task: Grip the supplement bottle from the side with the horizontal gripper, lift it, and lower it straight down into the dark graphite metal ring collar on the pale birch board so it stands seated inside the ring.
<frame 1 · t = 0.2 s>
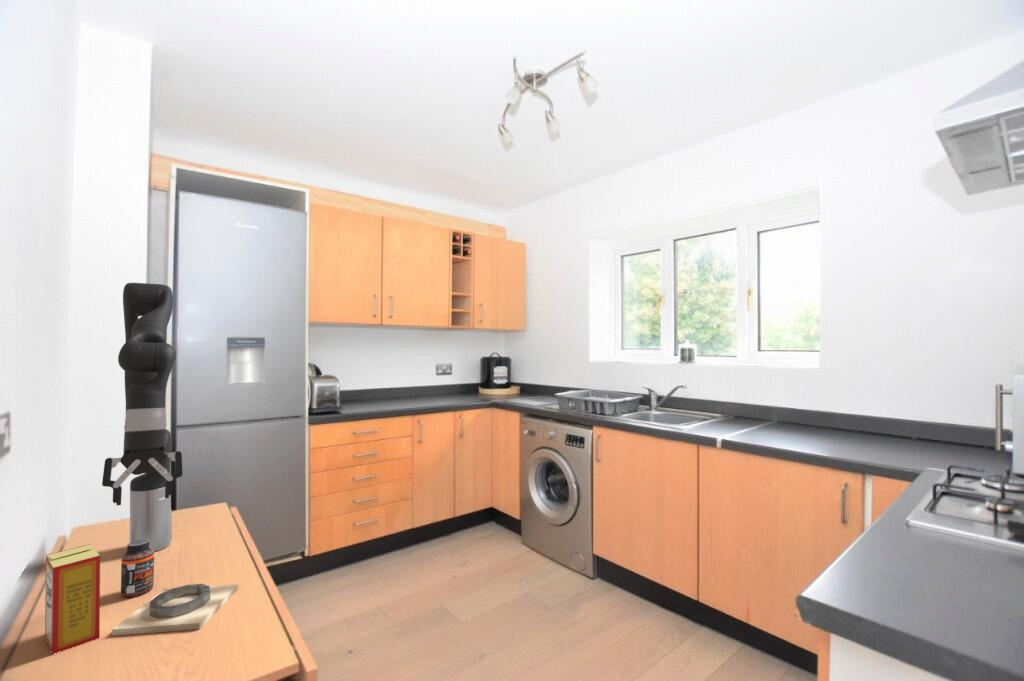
hand: (143, 501, 106), 22 cm above the table, tool pointing down, fingers open, 8 cm apart
supplement bottle: (137, 592, 108), on the table
baking soda box: (72, 638, 91), on the table
birch board: (180, 610, 100), on the table
ring collar: (180, 600, 100), on the birch board, point 2 cm above the table
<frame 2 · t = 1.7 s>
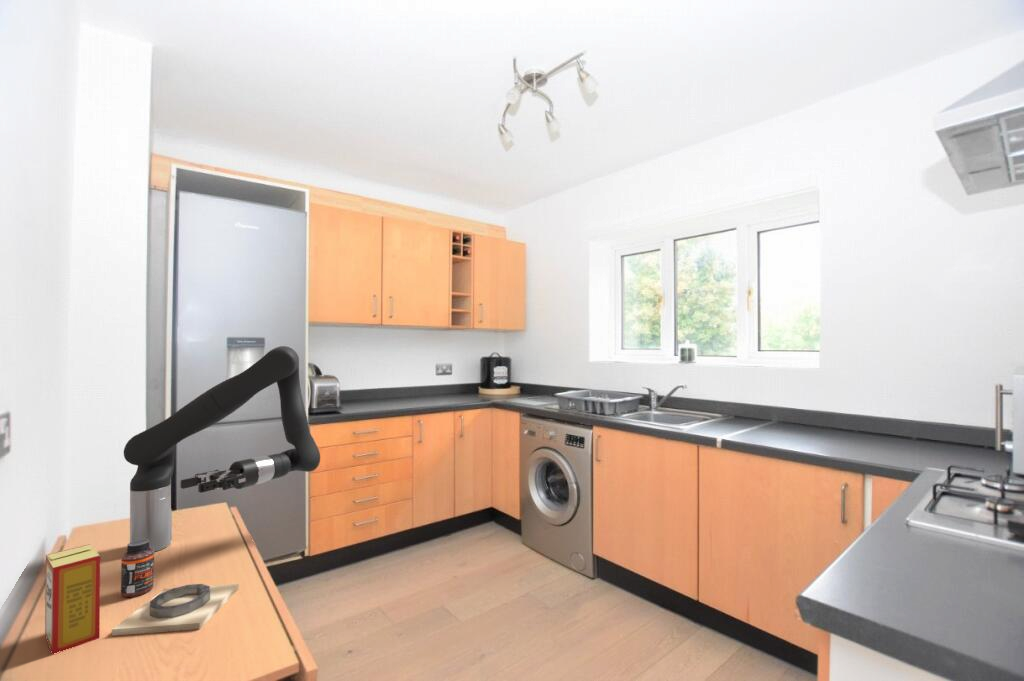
hand: (189, 486, 118), 21 cm above the table, tool horizontal, fingers open, 8 cm apart
nothing on the table moved.
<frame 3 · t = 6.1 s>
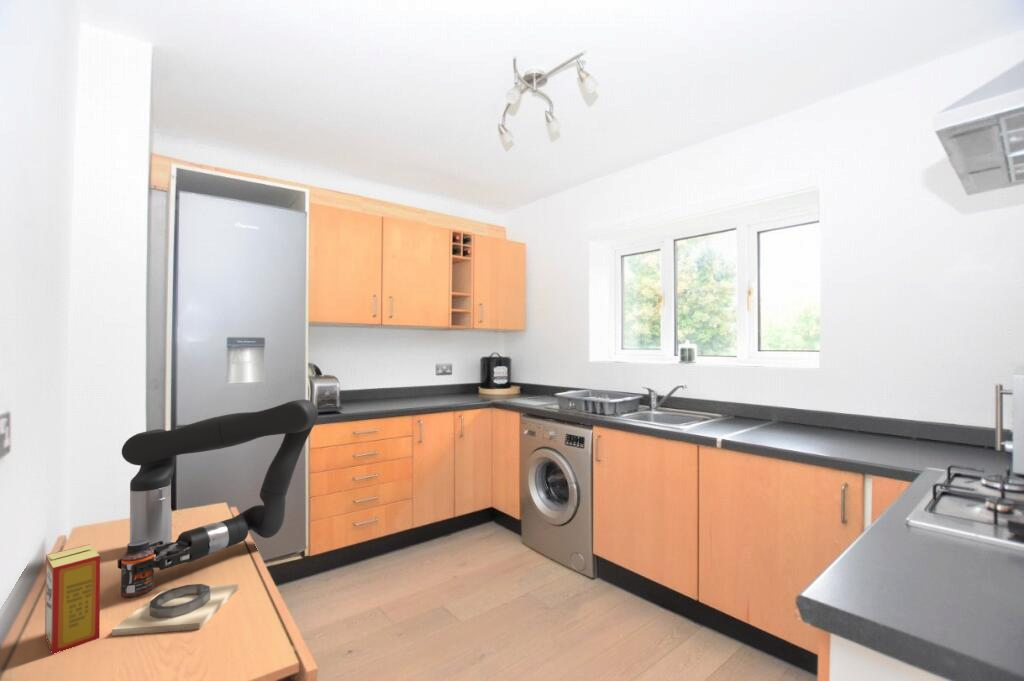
hand: (125, 567, 106), 7 cm above the table, tool horizontal, fingers closed on supplement bottle, 6 cm apart
supplement bottle: (137, 592, 108), on the table, touching gripper
everything else where it was.
when the fingers open (8 cm above the table, at t = 12.0 s): supplement bottle stays where it is, resting on birch board.
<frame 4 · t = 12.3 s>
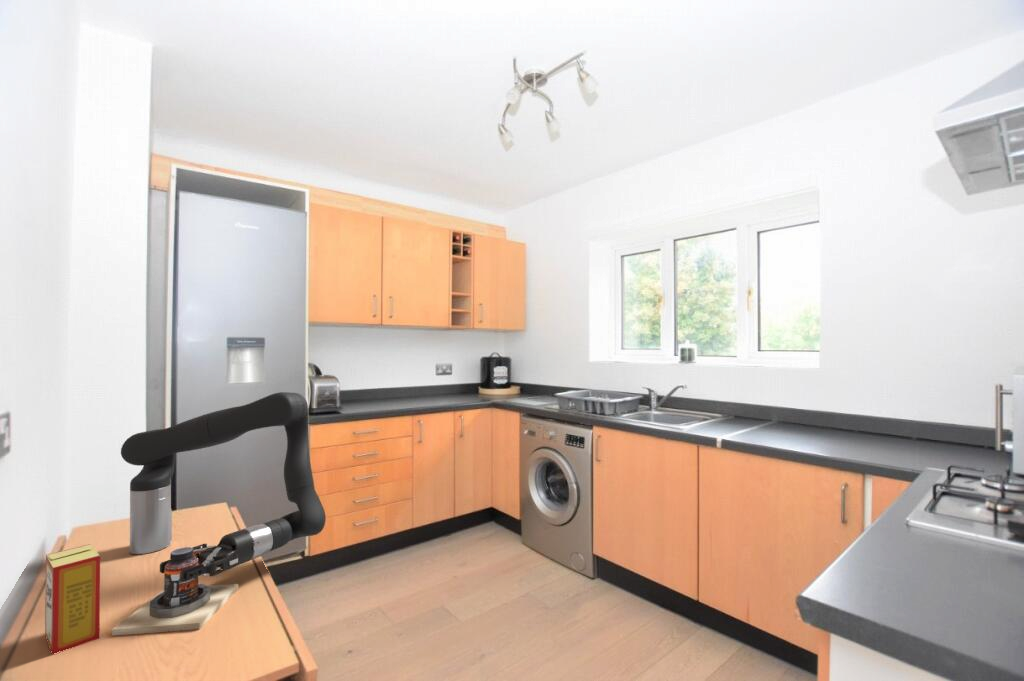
hand: (170, 572, 98), 9 cm above the table, tool horizontal, fingers open, 8 cm apart
supplement bottle: (181, 605, 100), point 1 cm above the table, touching birch board
everything else where it was.
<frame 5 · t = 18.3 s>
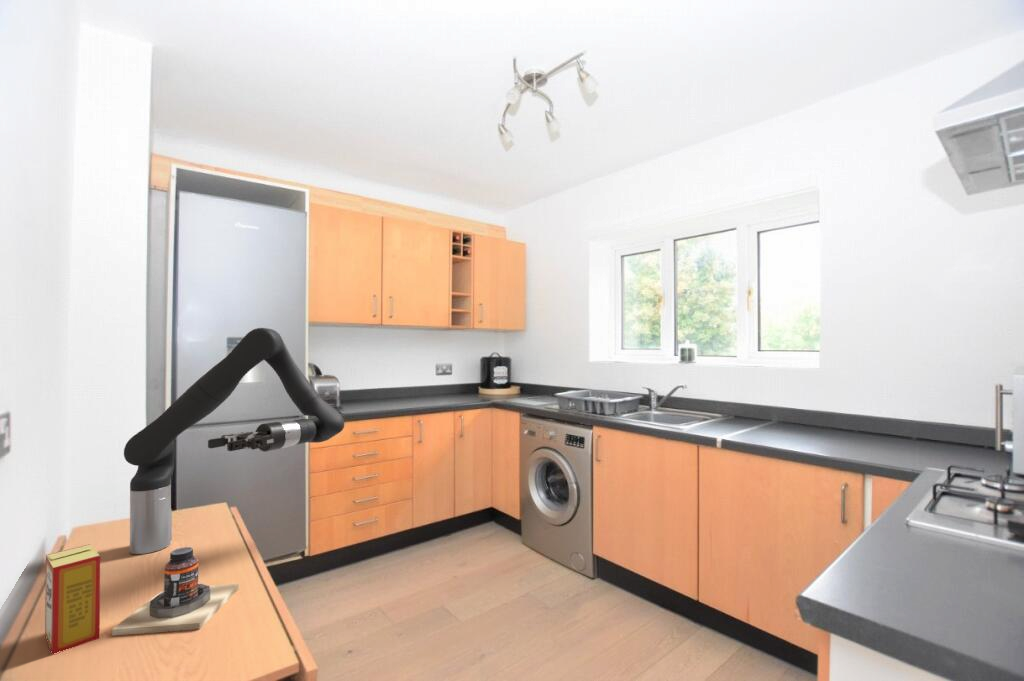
hand: (218, 445, 116), 32 cm above the table, tool horizontal, fingers open, 8 cm apart
nothing on the table moved.
at the end: supplement bottle 0.2 cm off-centre on the ring collar, point 1.0 cm above the ring collar's base; supplement bottle tilted 0°; the gripper is holding nothing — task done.
